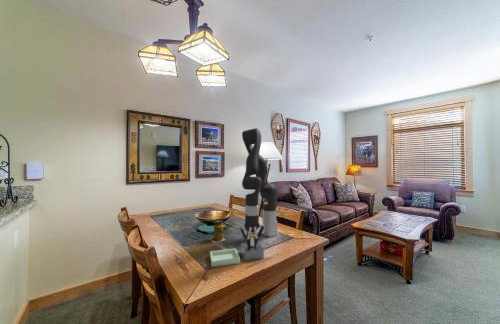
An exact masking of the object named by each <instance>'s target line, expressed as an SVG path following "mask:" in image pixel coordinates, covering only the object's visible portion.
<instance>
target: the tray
mask: <svg viewBox="0 0 500 324" xmlns="http://www.w3.org/2000/svg"><path fill="white" fill-rule="evenodd" d="M209 259H210V264H211V268H215V267H222V266H223V267H225V266H231V265H238V264H241V257H240V254H239V252H238V250H237V248H228V249H219V250H209Z"/></svg>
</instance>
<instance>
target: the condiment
mask: <svg viewBox="0 0 500 324" xmlns="http://www.w3.org/2000/svg"><path fill="white" fill-rule="evenodd" d="M214 223H215V225H214V232H213V237H211V238H209V240H210V242H212V243H213V244H214V243H217V242H222V241H226V238H224V229H223V224H224V221H223V220H222V219H217V220H214Z"/></svg>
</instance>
